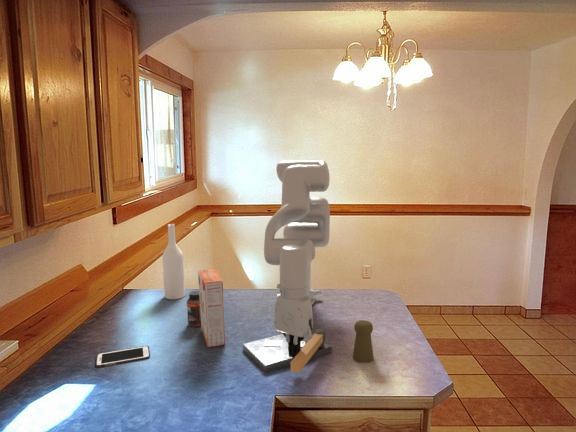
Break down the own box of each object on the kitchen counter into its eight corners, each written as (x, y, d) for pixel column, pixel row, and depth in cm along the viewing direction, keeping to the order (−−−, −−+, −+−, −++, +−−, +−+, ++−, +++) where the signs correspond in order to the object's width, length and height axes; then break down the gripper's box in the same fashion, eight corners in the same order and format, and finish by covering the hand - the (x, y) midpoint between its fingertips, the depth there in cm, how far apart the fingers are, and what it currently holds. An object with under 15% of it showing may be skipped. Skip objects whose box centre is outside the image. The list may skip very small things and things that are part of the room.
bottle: (174, 300, 172) (170, 226, 167) (160, 297, 176) (156, 225, 172) (189, 294, 179) (185, 223, 174) (174, 291, 183) (171, 221, 178)
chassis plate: (305, 334, 141) (305, 323, 140) (331, 352, 128) (331, 341, 128) (243, 350, 130) (242, 339, 130) (265, 372, 117) (265, 360, 117)
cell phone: (150, 359, 126) (150, 356, 126) (95, 369, 121) (95, 365, 121) (149, 348, 133) (148, 345, 133) (97, 356, 128) (96, 353, 128)
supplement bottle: (207, 320, 152) (206, 290, 151) (202, 327, 147) (201, 295, 145) (191, 320, 153) (189, 289, 151) (185, 327, 147) (184, 295, 145)
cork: (360, 365, 121) (361, 327, 119) (348, 355, 126) (348, 320, 125) (377, 359, 124) (378, 323, 122) (364, 351, 129) (365, 316, 127)
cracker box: (200, 330, 145) (197, 269, 141) (218, 327, 147) (215, 268, 143) (206, 348, 132) (203, 282, 128) (225, 345, 134) (223, 280, 130)
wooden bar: (316, 336, 131) (316, 328, 130) (326, 338, 129) (327, 330, 129) (289, 370, 111) (289, 361, 110) (300, 373, 110) (300, 363, 109)
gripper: (263, 290, 116) (264, 353, 119) (310, 301, 108) (310, 369, 111) (279, 282, 122) (280, 343, 125) (325, 292, 114) (325, 357, 117)
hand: (294, 355), depth 118 cm, fingers closed
